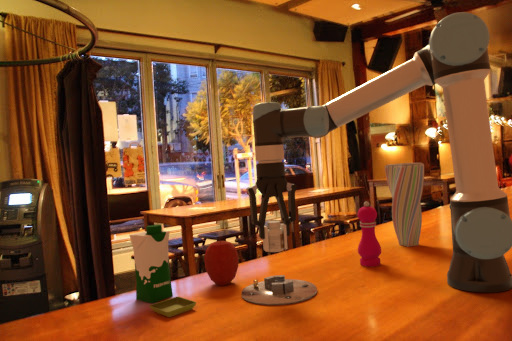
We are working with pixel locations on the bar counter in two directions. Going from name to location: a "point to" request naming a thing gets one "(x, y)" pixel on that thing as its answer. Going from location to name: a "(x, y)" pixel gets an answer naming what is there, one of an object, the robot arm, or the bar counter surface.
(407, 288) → the bar counter surface
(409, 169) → the vase
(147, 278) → the milk carton
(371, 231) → the pepper mill
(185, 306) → the olive square tray
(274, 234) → the pill bottle
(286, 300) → the flange plate
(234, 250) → the apple
